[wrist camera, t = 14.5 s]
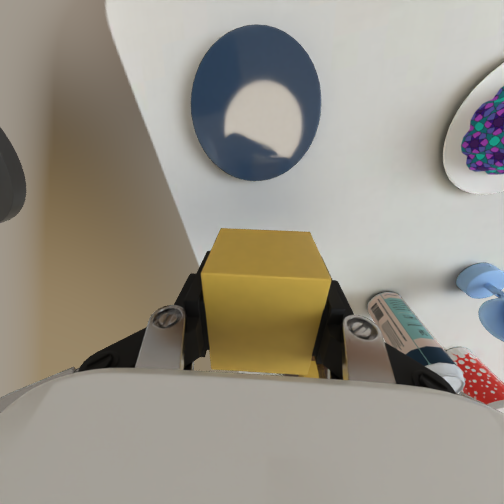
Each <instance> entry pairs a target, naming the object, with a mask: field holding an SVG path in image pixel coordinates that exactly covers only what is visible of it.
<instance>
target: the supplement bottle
mask: <svg viewBox="0 0 504 504" xmlns="http://www.w3.org/2000/svg"><path fill="white" fill-rule="evenodd" d="M367 309H368V312H369V314H370V315H371V317H372V319H373V321H374V322H375V324H376V325H377V326H378V327H379V328H380V330H381V332H382V336H383V338H384V340H385V342H386V343H387V344H389V345H391V346H392V347H394V348H396V349H397V350H399V351H401V352H402V353H404V354H406V355H407V356H409V357H411V358H412V359H414V360H415V361H417V362H419V363H420V364H422V365H424V366H425V367H427V368H429V369H430V370H432V371H434V372H435V373H437V374H438V375H440V376H441V377H442V378H444V379H445V380H446V381H447V382H448V383H449V384H450V385H451V387H452V388H453V389H454V391H455V392H456V393H459V392H461V391H462V390H463V388H464V386H465V382H464V377H463V373H462V371H461V369H460V368H459V367H458V366H457V365H456V364H455V363H454V361H453V360H452V359H451V358H450V356H449V355H448V354H447V353H446V352H445V350H444V349H443V348H442V347H441V345H440V344H439V343H438V342H437V341H436V339H435V338H434V337H433V336H432V334H431V333H430V332H429V331H428V330H427V328H426V327H425V326H424V325H423V323H422V322H421V321H420V320H419V319H418V317H417V316H416V315H415V314H414V313H413V311H412V310H411V309H410V308H409V306H408V305H407V304H406V303H405V302H404V300H403V299H402V297H401V296H400V295H398V294H396V293H393V292H384V293H380V294H378V295H376V296H375V297H373V298H372V299H371V300H370V301H369V303H368V306H367Z"/></svg>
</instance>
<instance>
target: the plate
mask: <svg viewBox="0 0 504 504" xmlns="http://www.w3.org/2000/svg"><path fill="white" fill-rule="evenodd" d="M191 114H192V121H193V125H194V129H195V133H196V135H197V138H198V140H199V142H200V144H201V146H202V148H203V150H204V151H205V153H206V154H207V156H208V157H209V158H210V159H211V160H212V162H213V163H214V164H216V165H217V166H218V167H219V168H220V169H221V170H223V171H224V172H226V173H228V174H229V175H231V176H234V177H236V178H239V179H243V180H248V181H263V180H268V179H271V178H275V177H277V176H279V175H281V174H283V173H285V172H286V171H288V170H290V169H291V168H292V167H293V166H294V165H296V164H297V163H298V162H299V160H300V159H301V158H302V157H303V156H304V154H305V153H306V152H307V150H308V149H309V147H310V145H311V143H312V141H313V139H314V137H315V134H316V131H317V128H318V125H319V120H320V115H321V90H320V83H319V80H318V76H317V72H316V70H315V67H314V65H313V63H312V61H311V59H310V57H309V56H308V54H307V52H306V51H305V50H304V49H303V47H302V46H301V45H300V44H299V43H298V42H297V41H296V40H295V39H294V38H293V37H291V36H290V35H288V34H287V33H285V32H283V31H281V30H279V29H277V28H274V27H270V26H267V25H247V26H243V27H240V28H237V29H234V30H232V31H230V32H228V33H227V34H225V35H224V36H222V37H221V38H220V39H219V40H218V41H216V42H215V43H214V44H213V45H212V46H211V48H210V49H209V50H208V52H207V53H206V54H205V56H204V58H203V59H202V61H201V63H200V65H199V67H198V70H197V72H196V75H195V79H194V82H193V87H192V93H191Z"/></svg>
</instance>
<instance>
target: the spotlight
mask: <svg viewBox="0 0 504 504" xmlns="http://www.w3.org/2000/svg"><path fill="white" fill-rule="evenodd" d="M456 284H457V286H458V288H460V289H461V290H462V291H463V292H465V293H466V294H467V295H468V296H470V297H472V298H477V299H480V298H486V297H490V296H492V295H496V296H497V297H498V298H496V299H491V300H488V301H486V302H485V303H483V304H482V305H481V307H480V308H479V319H480V321H481V323H482V325H483V326H484V327H485V329H486V330H487V331H488V332H489V333H491V334H492V335H493V336H495V337H496V338H498V339H500V340H501V341H503V342H504V292H502V291H501V290H502V289H503V288H504V272H503V271H501V270H500V269H498V268H496V267H495V266H493V265H491V264H489V263H479V264H475V265H472V266H470V267H468V268H466V269H465V270H464V271H462V272H461V273H460V274H459V276H458V278H457V280H456Z"/></svg>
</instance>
